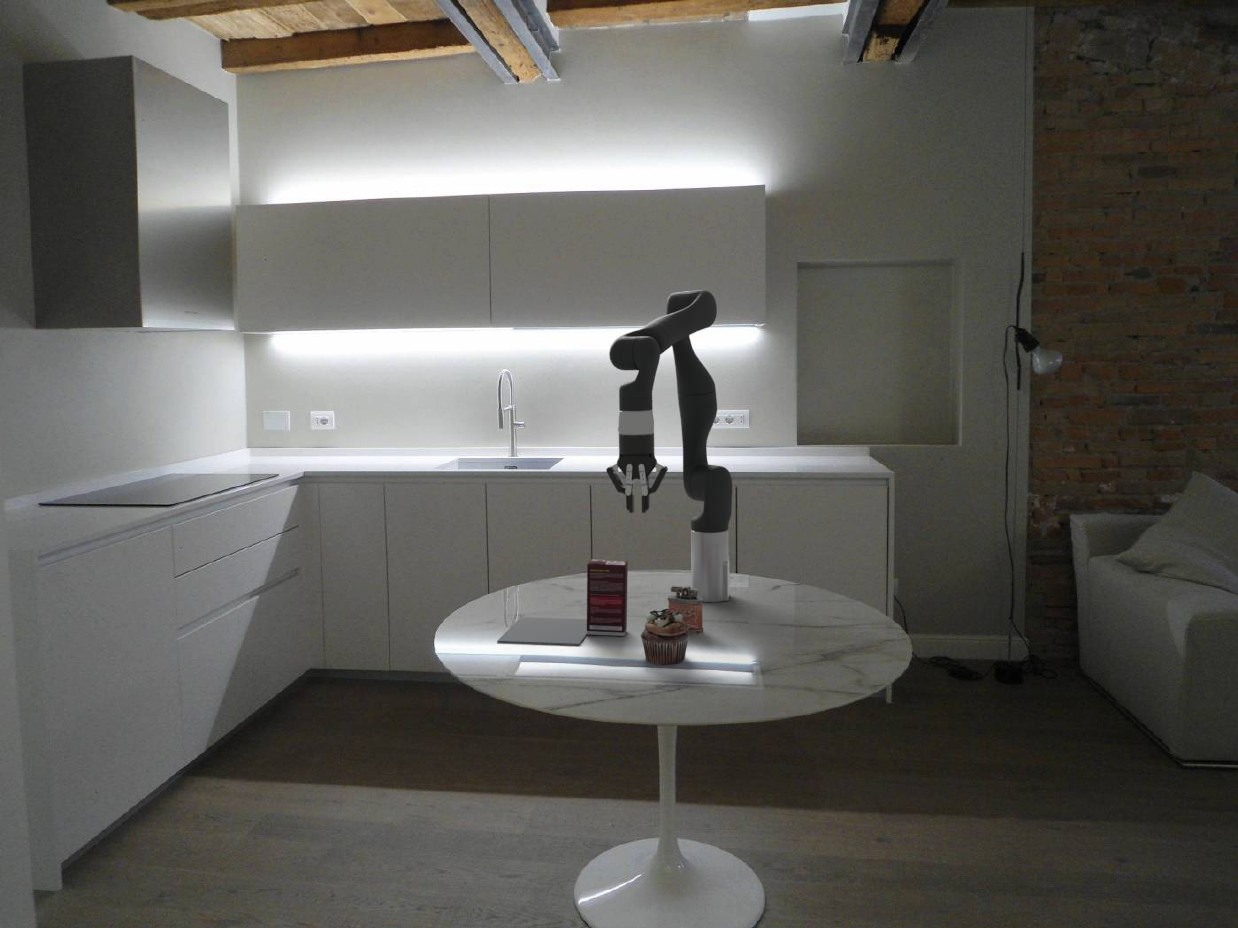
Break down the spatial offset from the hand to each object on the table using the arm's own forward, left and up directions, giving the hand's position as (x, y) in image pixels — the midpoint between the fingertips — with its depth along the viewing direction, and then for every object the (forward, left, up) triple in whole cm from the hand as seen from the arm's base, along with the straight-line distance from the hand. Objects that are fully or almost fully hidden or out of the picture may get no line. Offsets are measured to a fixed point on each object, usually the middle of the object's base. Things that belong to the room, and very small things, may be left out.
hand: (637, 511), depth 200 cm
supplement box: (+7, 0, -27) cm, 28 cm away
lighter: (-10, -4, -27) cm, 29 cm away
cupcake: (-8, +15, -27) cm, 32 cm away
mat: (+20, 0, -27) cm, 34 cm away
